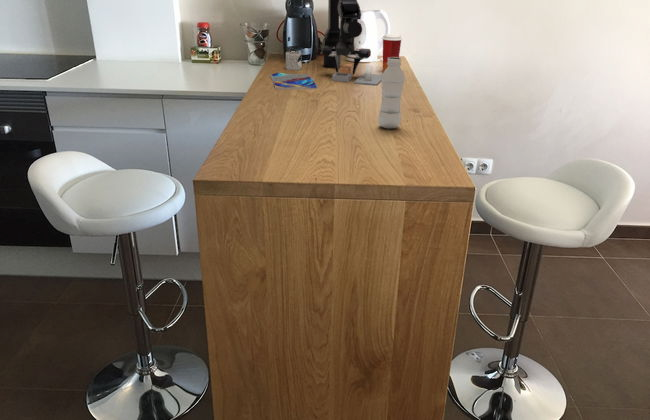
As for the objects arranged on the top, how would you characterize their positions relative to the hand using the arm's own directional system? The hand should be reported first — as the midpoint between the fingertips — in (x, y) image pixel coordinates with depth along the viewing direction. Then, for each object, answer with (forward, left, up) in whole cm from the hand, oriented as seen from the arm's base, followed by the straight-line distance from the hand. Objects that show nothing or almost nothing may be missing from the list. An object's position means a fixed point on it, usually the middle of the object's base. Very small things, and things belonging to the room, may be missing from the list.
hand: (345, 73), depth 231 cm
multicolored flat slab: (-17, -17, -2) cm, 24 cm away
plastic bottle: (+29, -65, -1) cm, 71 cm away
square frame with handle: (0, -1, -1) cm, 2 cm away
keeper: (+11, -2, -1) cm, 11 cm away
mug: (-25, +9, -2) cm, 27 cm away
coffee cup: (+15, +17, -1) cm, 23 cm away
